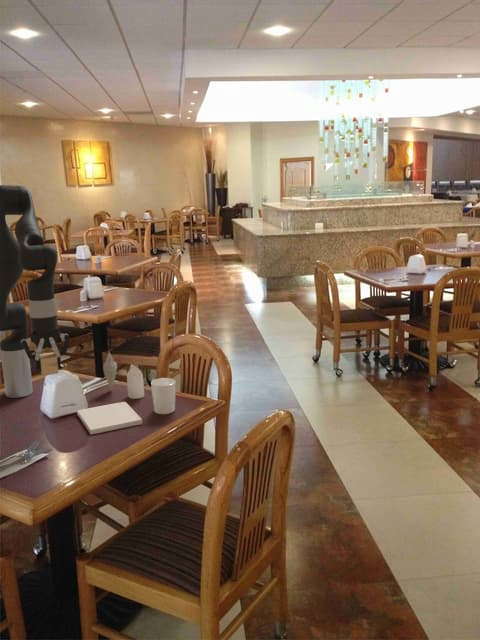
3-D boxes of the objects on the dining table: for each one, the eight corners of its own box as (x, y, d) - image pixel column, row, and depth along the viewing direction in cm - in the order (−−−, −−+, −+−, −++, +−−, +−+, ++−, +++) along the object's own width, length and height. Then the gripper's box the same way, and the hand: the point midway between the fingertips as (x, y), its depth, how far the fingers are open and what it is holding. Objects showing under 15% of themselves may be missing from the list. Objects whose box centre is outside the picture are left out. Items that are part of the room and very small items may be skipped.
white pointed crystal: (145, 362, 200) (136, 367, 195) (147, 395, 203) (137, 400, 198) (132, 360, 203) (122, 364, 198) (134, 392, 205) (124, 397, 201)
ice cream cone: (110, 394, 204) (108, 353, 201) (101, 391, 207) (98, 351, 204) (121, 390, 208) (119, 350, 205) (112, 387, 211) (109, 348, 208)
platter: (77, 414, 186) (77, 410, 185) (125, 405, 193) (125, 401, 192) (90, 434, 170) (90, 429, 170) (142, 423, 177) (142, 419, 177)
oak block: (39, 370, 171) (37, 354, 170) (54, 368, 173) (53, 352, 172) (42, 375, 166) (41, 359, 165) (58, 373, 168) (57, 357, 167)
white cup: (165, 404, 193) (163, 376, 191) (181, 409, 188) (180, 380, 186) (147, 411, 187) (145, 382, 185) (164, 417, 182) (162, 387, 180)
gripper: (65, 309, 172) (70, 363, 176) (15, 314, 166) (21, 370, 170) (70, 313, 166) (75, 369, 170) (18, 319, 159) (25, 377, 163)
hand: (48, 369), depth 169 cm, fingers closed on oak block, 4 cm apart
